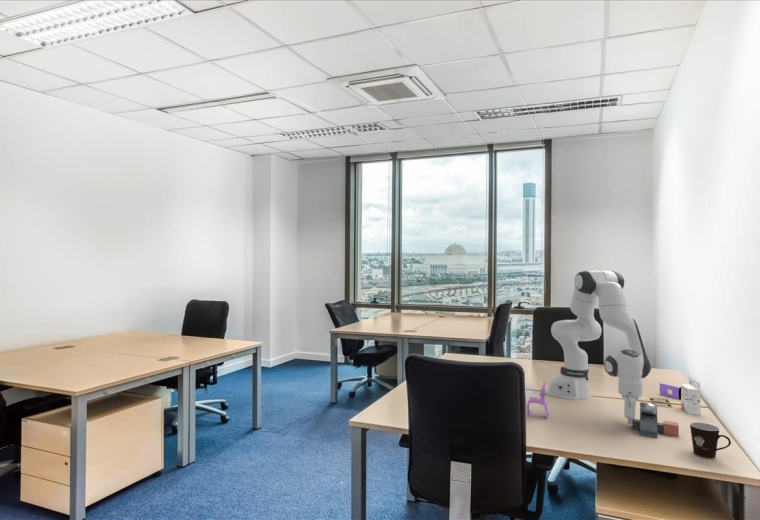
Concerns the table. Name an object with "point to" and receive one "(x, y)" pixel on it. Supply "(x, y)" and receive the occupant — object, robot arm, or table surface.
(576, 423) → the table surface
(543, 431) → the table surface
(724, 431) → the table surface
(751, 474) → the table surface
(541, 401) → the toy chair
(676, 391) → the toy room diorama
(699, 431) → the coffee mug
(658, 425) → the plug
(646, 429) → the housing
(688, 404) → the ink cartridge box
